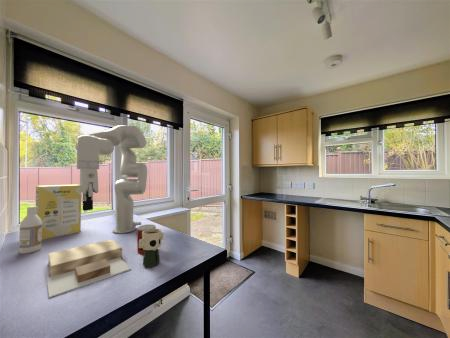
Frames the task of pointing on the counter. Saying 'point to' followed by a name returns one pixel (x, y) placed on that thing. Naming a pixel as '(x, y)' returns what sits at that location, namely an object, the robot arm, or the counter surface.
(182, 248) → the counter surface
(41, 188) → the pasta box
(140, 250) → the canned food
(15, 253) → the counter surface
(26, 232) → the bath foam
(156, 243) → the character mug
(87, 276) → the walnut tile
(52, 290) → the cream mat
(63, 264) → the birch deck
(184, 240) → the counter surface
